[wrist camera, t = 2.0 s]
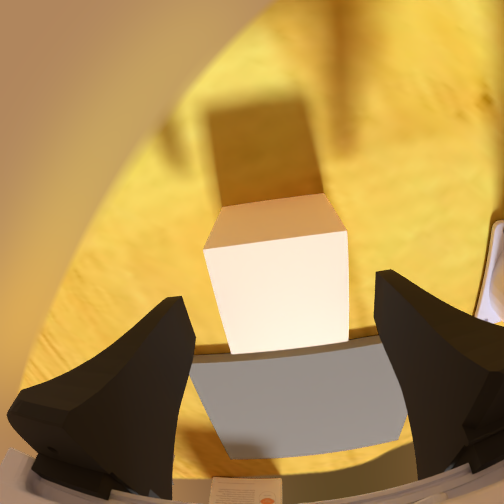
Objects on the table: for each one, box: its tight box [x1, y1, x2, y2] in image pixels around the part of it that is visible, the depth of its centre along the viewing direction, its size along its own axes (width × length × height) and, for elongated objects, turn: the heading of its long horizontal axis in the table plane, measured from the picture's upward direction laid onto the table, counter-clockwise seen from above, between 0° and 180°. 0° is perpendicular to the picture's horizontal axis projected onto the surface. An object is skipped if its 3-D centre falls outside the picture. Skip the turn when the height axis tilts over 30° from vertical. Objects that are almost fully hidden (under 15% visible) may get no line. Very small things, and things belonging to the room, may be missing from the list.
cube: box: [203, 193, 349, 354], centre depth 14 cm, size 5×5×5 cm
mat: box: [189, 335, 408, 459], centre depth 21 cm, size 16×14×1 cm
